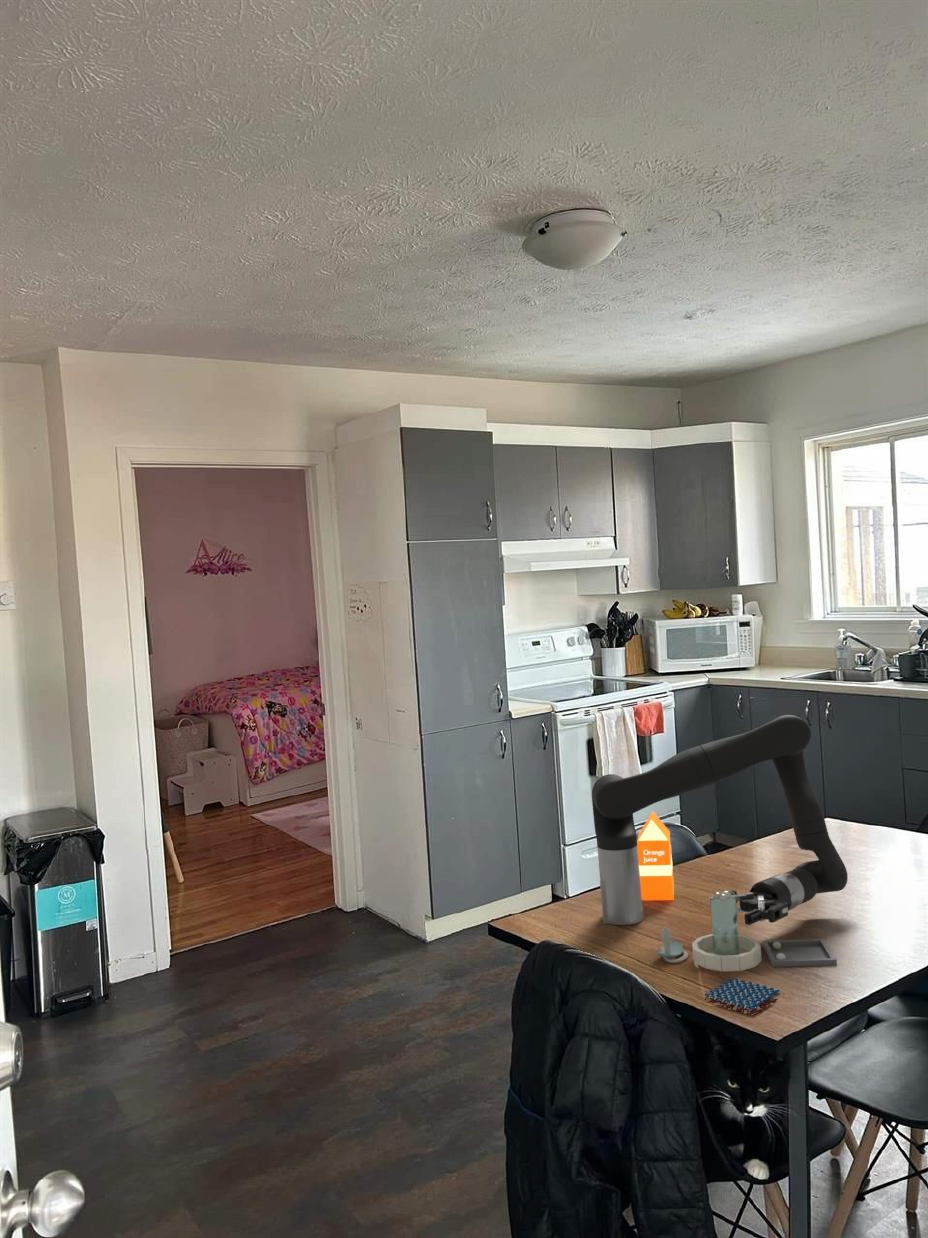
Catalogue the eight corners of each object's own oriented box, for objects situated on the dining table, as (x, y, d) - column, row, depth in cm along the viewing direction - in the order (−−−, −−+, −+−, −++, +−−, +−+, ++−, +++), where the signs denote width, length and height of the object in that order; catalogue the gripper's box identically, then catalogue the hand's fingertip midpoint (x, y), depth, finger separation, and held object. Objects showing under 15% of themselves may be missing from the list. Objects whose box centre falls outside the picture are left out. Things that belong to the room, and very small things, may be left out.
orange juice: (641, 900, 235) (634, 819, 235) (643, 889, 243) (637, 810, 243) (674, 900, 233) (667, 818, 233) (675, 888, 242) (668, 809, 241)
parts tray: (772, 970, 187) (771, 957, 186) (763, 949, 197) (762, 937, 197) (837, 969, 185) (836, 955, 185) (824, 947, 196) (823, 935, 196)
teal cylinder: (715, 962, 191) (710, 896, 190) (712, 952, 196) (707, 888, 195) (741, 961, 190) (736, 895, 190) (738, 952, 195) (733, 888, 195)
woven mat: (754, 1020, 168) (753, 1009, 168) (702, 1005, 175) (701, 994, 175) (785, 999, 175) (784, 988, 175) (733, 986, 182) (733, 975, 182)
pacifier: (693, 955, 199) (666, 950, 202) (691, 925, 198) (664, 920, 202) (679, 967, 193) (651, 962, 196) (678, 937, 192) (650, 932, 196)
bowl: (697, 976, 187) (695, 958, 187) (691, 951, 200) (689, 934, 200) (766, 974, 185) (764, 956, 185) (755, 949, 198) (754, 932, 198)
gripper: (747, 871, 209) (699, 890, 199) (805, 883, 197) (756, 904, 188) (750, 905, 209) (702, 926, 199) (808, 919, 197) (759, 942, 188)
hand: (728, 915), depth 193 cm, fingers open, 8 cm apart
